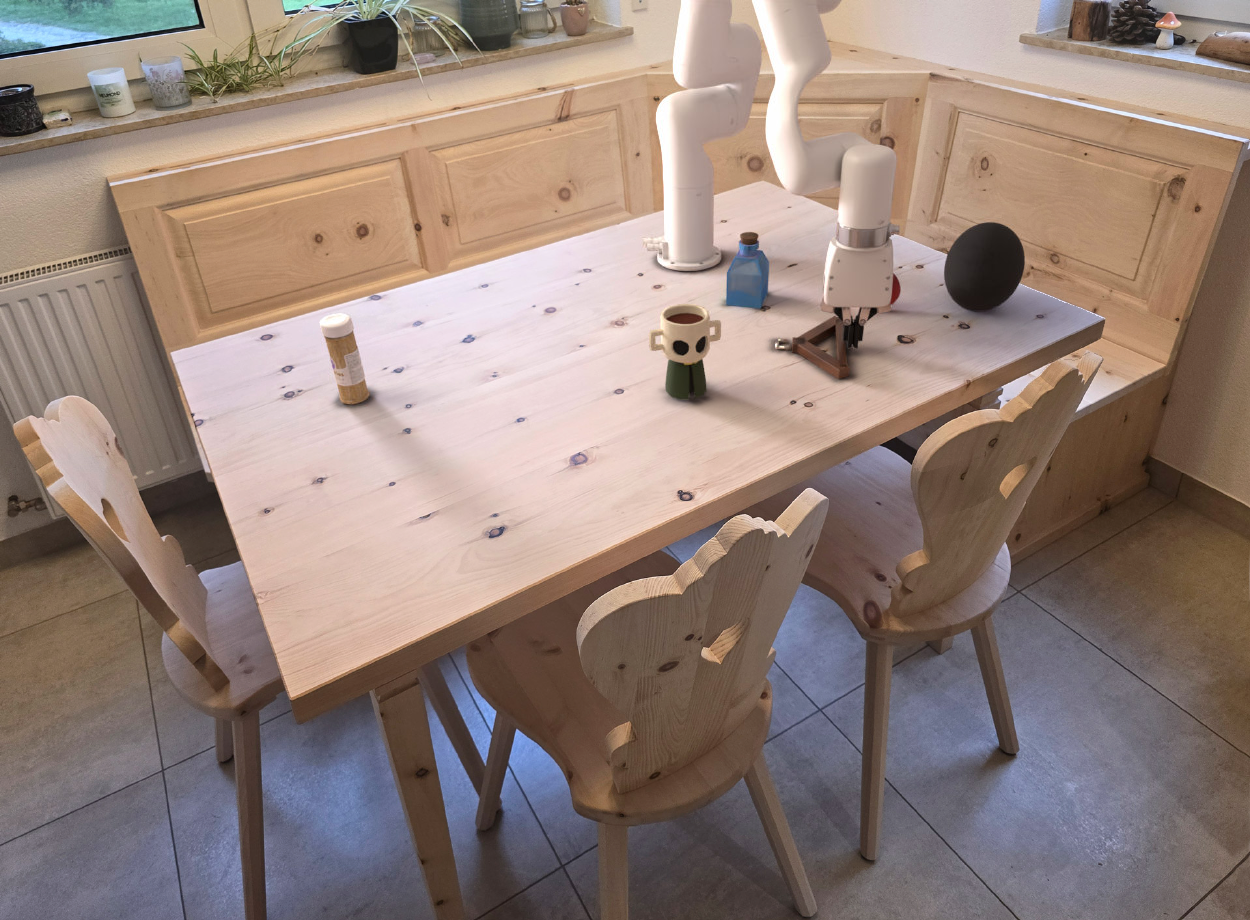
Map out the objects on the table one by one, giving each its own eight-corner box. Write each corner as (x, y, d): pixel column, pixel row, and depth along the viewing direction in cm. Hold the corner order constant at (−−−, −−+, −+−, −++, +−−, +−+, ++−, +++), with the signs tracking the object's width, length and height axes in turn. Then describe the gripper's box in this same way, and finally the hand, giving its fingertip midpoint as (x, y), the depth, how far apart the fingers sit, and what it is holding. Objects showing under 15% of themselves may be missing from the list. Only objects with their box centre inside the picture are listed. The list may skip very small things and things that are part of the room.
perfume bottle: (767, 294, 162) (770, 230, 155) (760, 308, 157) (763, 243, 150) (734, 290, 163) (735, 227, 157) (726, 305, 159) (727, 240, 152)
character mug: (657, 410, 131) (654, 330, 124) (645, 386, 137) (641, 309, 129) (728, 397, 133) (729, 318, 125) (712, 375, 139) (713, 298, 131)
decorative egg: (969, 287, 160) (984, 205, 151) (1029, 310, 151) (1049, 225, 143) (922, 306, 154) (935, 222, 146) (982, 331, 146) (1000, 244, 137)
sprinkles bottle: (334, 399, 138) (312, 321, 130) (358, 387, 141) (338, 309, 133) (352, 408, 136) (331, 329, 128) (376, 396, 138) (357, 317, 131)
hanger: (774, 377, 137) (775, 368, 136) (775, 323, 152) (776, 314, 151) (849, 379, 135) (850, 370, 135) (843, 324, 150) (843, 316, 149)
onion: (894, 302, 156) (900, 259, 152) (899, 316, 152) (906, 272, 147) (861, 302, 157) (865, 259, 152) (865, 316, 152) (870, 272, 148)
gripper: (911, 224, 134) (897, 334, 144) (810, 224, 136) (803, 333, 146) (918, 242, 128) (902, 356, 138) (811, 242, 130) (804, 354, 140)
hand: (851, 344), depth 142 cm, fingers closed
